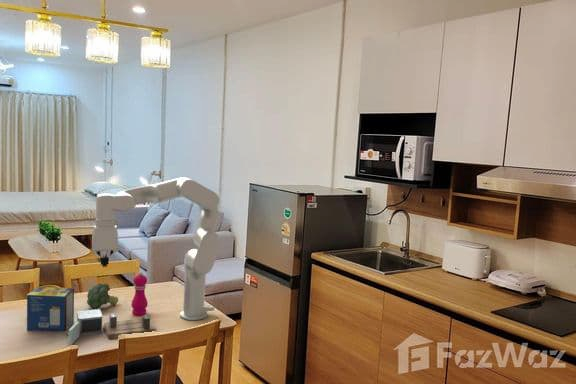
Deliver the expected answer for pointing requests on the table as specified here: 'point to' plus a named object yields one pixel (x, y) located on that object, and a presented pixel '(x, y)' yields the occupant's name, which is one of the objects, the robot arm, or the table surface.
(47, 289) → the protein box
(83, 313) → the box
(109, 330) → the fader board
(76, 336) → the door
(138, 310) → the pepper mill
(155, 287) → the table surface
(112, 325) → the fader knob
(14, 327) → the table surface
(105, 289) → the vegetable
